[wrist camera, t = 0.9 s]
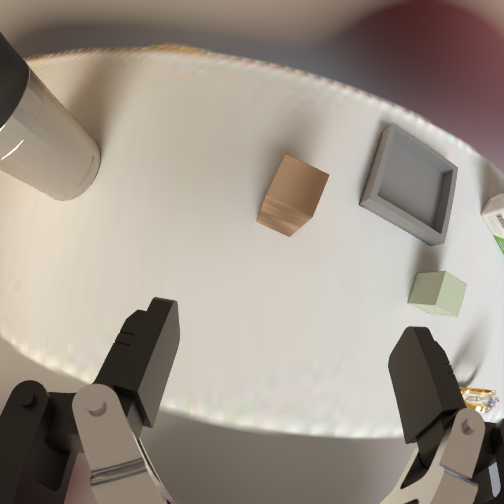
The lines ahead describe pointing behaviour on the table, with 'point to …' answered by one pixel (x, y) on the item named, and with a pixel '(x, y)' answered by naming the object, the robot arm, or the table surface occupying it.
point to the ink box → (495, 217)
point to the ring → (480, 398)
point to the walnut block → (292, 196)
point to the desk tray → (411, 186)
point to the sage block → (438, 293)
